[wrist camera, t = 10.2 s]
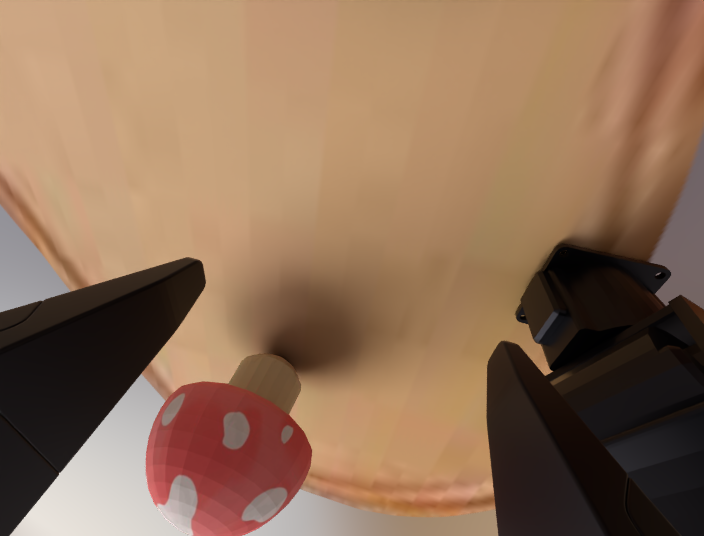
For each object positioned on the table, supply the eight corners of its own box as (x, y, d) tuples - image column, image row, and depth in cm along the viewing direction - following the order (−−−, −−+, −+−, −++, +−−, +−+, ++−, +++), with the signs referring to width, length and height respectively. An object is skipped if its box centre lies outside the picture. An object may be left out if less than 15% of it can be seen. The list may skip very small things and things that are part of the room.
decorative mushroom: (224, 294, 30) (72, 455, 17) (354, 345, 29) (291, 547, 17) (221, 372, 37) (115, 521, 25) (323, 414, 37) (265, 585, 25)
